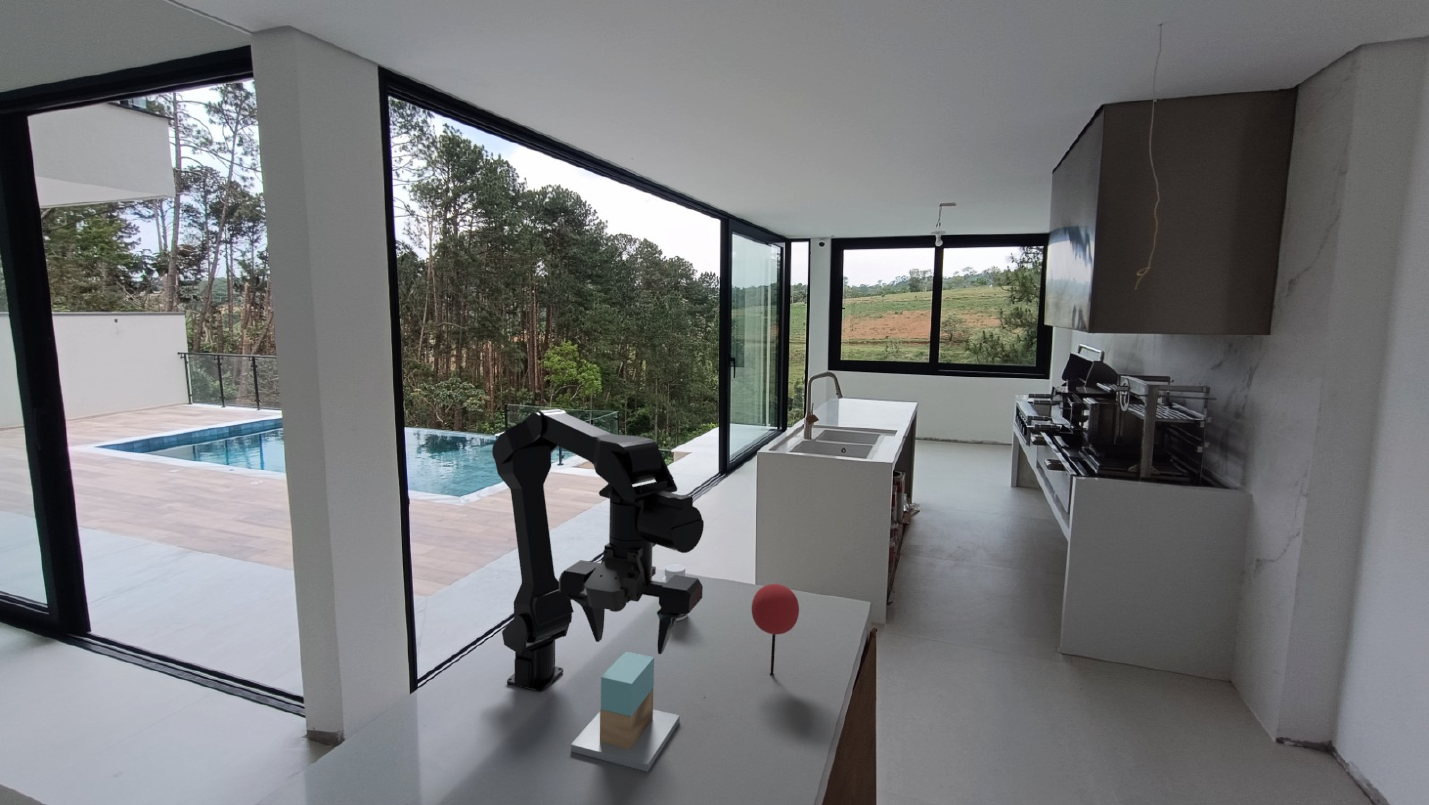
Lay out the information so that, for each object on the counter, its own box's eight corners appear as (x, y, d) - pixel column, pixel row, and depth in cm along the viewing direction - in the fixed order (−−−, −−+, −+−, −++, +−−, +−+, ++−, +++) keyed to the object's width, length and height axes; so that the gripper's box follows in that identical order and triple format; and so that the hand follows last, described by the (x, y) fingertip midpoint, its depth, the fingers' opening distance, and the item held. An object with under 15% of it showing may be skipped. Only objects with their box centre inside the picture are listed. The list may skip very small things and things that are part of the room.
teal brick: (625, 681, 90) (625, 651, 90) (653, 687, 89) (654, 657, 88) (600, 709, 83) (601, 677, 83) (631, 716, 82) (631, 683, 81)
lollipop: (794, 689, 99) (799, 598, 98) (746, 683, 101) (749, 593, 99) (796, 665, 107) (800, 579, 105) (751, 659, 108) (755, 575, 106)
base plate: (610, 705, 93) (610, 699, 93) (679, 722, 90) (679, 715, 90) (570, 751, 83) (571, 744, 83) (647, 772, 80) (647, 764, 80)
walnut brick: (624, 711, 90) (625, 681, 90) (652, 718, 89) (653, 688, 89) (599, 741, 84) (600, 709, 83) (629, 749, 82) (630, 717, 82)
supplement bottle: (656, 612, 125) (657, 564, 124) (681, 608, 128) (682, 561, 126) (665, 623, 120) (667, 574, 119) (692, 619, 123) (693, 570, 122)
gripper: (534, 543, 79) (534, 662, 80) (674, 564, 73) (671, 692, 75) (580, 519, 89) (579, 625, 91) (705, 536, 84) (702, 648, 85)
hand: (629, 646), depth 85 cm, fingers open, 9 cm apart
